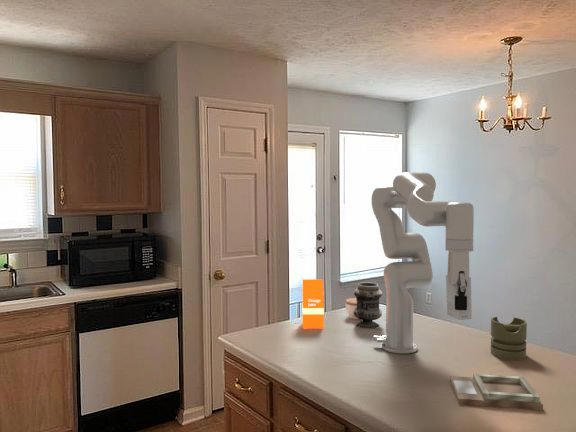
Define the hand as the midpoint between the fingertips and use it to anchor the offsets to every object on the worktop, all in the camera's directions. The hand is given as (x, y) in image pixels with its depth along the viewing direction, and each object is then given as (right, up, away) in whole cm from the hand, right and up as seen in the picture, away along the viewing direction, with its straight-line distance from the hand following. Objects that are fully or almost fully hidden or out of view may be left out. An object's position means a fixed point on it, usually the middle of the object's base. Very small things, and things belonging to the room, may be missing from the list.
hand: (458, 306), depth 138 cm
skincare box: (0, -3, 0) cm, 3 cm away
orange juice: (-39, -21, +66) cm, 79 cm away
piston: (+28, -23, +29) cm, 46 cm away
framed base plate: (+8, -24, -4) cm, 26 cm away
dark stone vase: (-15, -21, +66) cm, 71 cm away
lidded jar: (-18, -20, +79) cm, 84 cm away
